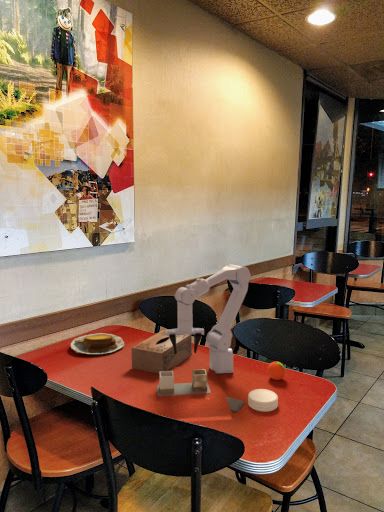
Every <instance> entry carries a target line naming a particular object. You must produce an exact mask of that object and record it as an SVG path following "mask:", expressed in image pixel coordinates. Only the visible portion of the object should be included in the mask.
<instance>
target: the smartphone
mask: <svg viewBox="0 0 384 512" xmlns="http://www.w3.org/2000/svg"><path fill="white" fill-rule="evenodd" d="M225 400H226V402H227V405H228V407H229V410H230V412H232V413H238V412H239V411H240V409H241V408H242V407H243V406H244V405H245V401H244V400H241V399H236V398H233V397H228V396H226V397H225Z"/></svg>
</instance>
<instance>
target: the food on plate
mask: <svg viewBox="0 0 384 512" xmlns="http://www.w3.org/2000/svg"><path fill="white" fill-rule="evenodd" d="M124 346H125V342H124V340H123V338H122V337H120V336H118V335H115V334H112V333H104V332H102V333H101V332H99V333H90V334H86V335H81V336H78V337H76V338H74V339H73V340H72V342H70V348H71V350H73V351H74V353H76V354H84V355H85V354H86V355H103V354H104V355H105V354H108V353H109V354H110V353H113V352H116V351H117V350H120V349H122V348H123V347H124Z"/></svg>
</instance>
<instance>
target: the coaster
mask: <svg viewBox="0 0 384 512" xmlns="http://www.w3.org/2000/svg"><path fill="white" fill-rule="evenodd" d="M278 400H279V396H278V394H277V393H275V392H274V391H272V390H270V389H265V388H258V389H253V390H251V391H249V392H248V395H247V404H248V406H249V407H250V408H251V409H253V410H255V411H257V412H262V413H264V412H266V413H267V412H272V411H275V410H276V409H277V408H278V407H279V401H278Z"/></svg>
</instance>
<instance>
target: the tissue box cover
mask: <svg viewBox="0 0 384 512" xmlns="http://www.w3.org/2000/svg"><path fill="white" fill-rule="evenodd" d="M166 330H167V329H163V330H161V331H159V332H158V333H155V334H153V335H151V336H149V337H148V338H146V339H144V340H143V341H141V342H139V343H137V344H136V345H134V346H132V347H131V348H130V349H131V370H140V371H143V372H150V373H153V374H159V371H170V369H172V368H177V366H179V365H180V364H182V363H183V362H184V361H185V360H187V359H188V358H190V357H191V356H193V355H192V347H193V346H192V344H193V343H192V337H193V336H192V335H193V334H191V335H176V351H177V354H175V353H174V347H173V345H172V342H171V340H170V338H169V336H166Z"/></svg>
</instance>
